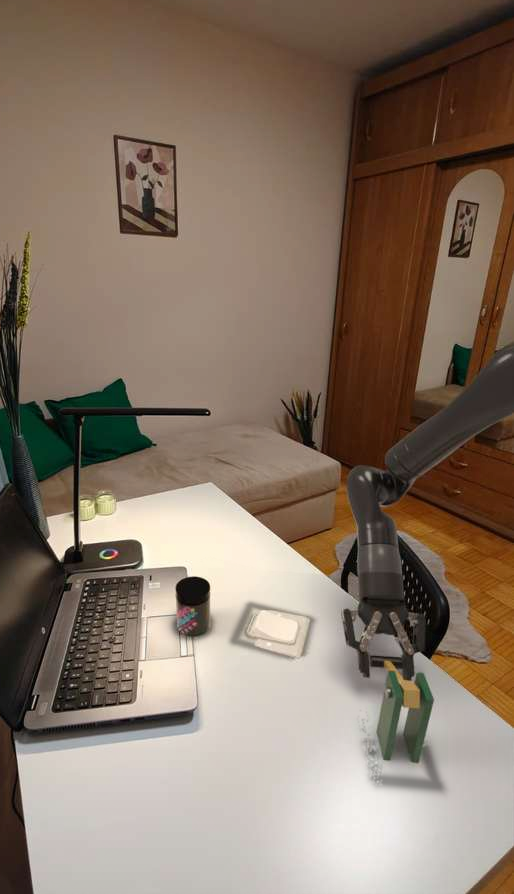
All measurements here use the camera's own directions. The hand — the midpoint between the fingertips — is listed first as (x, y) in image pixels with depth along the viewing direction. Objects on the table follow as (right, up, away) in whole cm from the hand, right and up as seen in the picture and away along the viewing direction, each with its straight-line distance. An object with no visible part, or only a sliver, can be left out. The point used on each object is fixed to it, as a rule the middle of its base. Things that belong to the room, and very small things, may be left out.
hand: (386, 678), depth 72 cm
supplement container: (-33, +1, +17) cm, 37 cm away
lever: (0, +1, -5) cm, 5 cm away
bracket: (-1, -8, -6) cm, 10 cm away
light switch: (-17, 0, +16) cm, 23 cm away
